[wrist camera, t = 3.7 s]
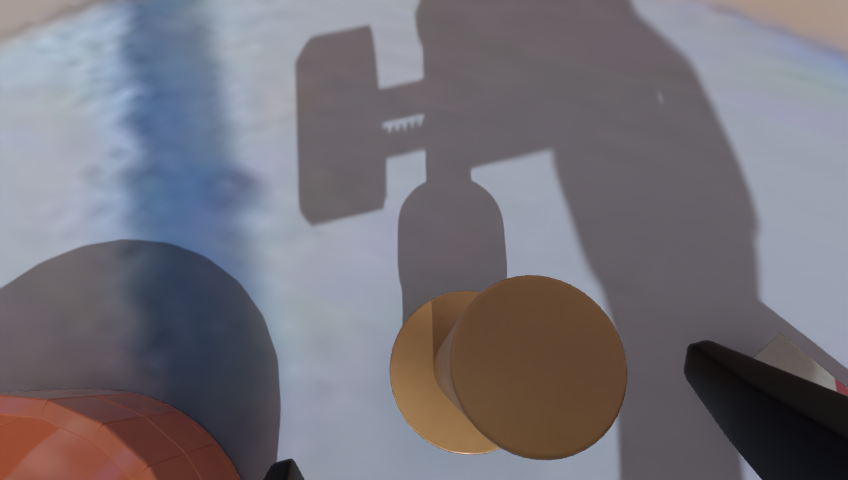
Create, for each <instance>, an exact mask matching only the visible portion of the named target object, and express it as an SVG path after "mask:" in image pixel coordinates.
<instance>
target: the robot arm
mask: <svg viewBox="0 0 848 480" xmlns="http://www.w3.org/2000/svg"><path fill="white" fill-rule="evenodd" d="M684 374H685V377H686V379H687V381H688V382H689V384H690V385H691V387H692V388H693V389H694V391H695V392H696V394H697V395H698V397H699V398H700V399H701V401H702V402H703V404H704V405H705V406H706V408H707V409H708V411H709V412H710V414H711V415H712V416H713V418H714V419H715V421H716V422H717V424H718V425H719V426H720V428H721V429H722V431H723V432H724V434H725V435H726V436H727V438H728V439H729V440H730V442H731V443H732V444H733V445H734V447H735V448H736V449H737V450H738V452H739V453H740V454H741V455H742V456H743V458H744V459H745V460H746V461H747V462H748V464H749V465H750V466H751V467H752V468H753V469H754V471H755V472H756V473H757V474H758V475H759V477H760V478H761V479H762V480H848V396H846V395H844V394H841V393H839V392H836V391H834V390H831V389H829V388H826V387H824V386H821V385H819V384H817V383H814V382H812V381H809V380H807V379H804V378H802V377H799V376H797V375H794V374H792V373H789V372H787V371H784V370H782V369H779V368H777V367H774V366H772V365H769V364H767V363H764V362H762V361H759V360H757V359H754V358H752V357H749V356H747V355H744V354H742V353H740V352H737V351H735V350H732V349H730V348H727V347H725V346H722V345H720V344H717V343H715V342H712V341H708V340H704V341H700V342H696V343H693V344H690V345H689V346H688V348H687V353H686V359H685V365H684ZM263 480H304V478H303V476H302V474H301V472H300V470H299V468H298V467H297V465H296V463H295V461H294V460H293V459H287V460H283V461H280V462H276V463H274V464H273V465H272V466H271V467H270V469H269V470H268V472H267V474H266V476H265V477H264V479H263Z"/></svg>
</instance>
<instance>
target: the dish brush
mask: <svg viewBox="0 0 848 480" xmlns="http://www.w3.org/2000/svg"><path fill="white" fill-rule="evenodd" d="M390 380H391V386H392V391H393V395H394V398H395V401H396V403H397V405H398V408H399V410H400V412H401V414H402V415H403V417H404V418H405V420H406V421H407V423H408V424H409V425H410V426H411V427H412V428H413V430H414V431H415V432H417V433H418V434H419V435H420V436H421V437H422V438H423V439H425V440H426V441H428V442H429V443H431V444H433V445H435V446H437V447H439V448H441V449H443V450H446V451H449V452H452V453H458V454H469V455H475V454H483V453H488V452H491V451H495V450H497V449H500V448H501V449H504V450H506V451H508V452H510V453H512V454H515V455H518V456H521V457H524V458H529V459H535V460H555V459H562V458H566V457H569V456H573V455H575V454H578V453H580V452H582V451H584V450H586V449H587V448H589V447H590V446H592V445H593V444H595V443H596V442H597V441H598V440H599V439H600V438H602V437H603V436H604V434H605V433H606V432H607V431H608V430H609V428H610V427H611V426H612V424H613V423H614V421H615V419H616V418H617V416H618V413H619V411H620V409H621V406H622V404H623V400H624V396H625V392H626V384H627V366H626V358H625V354H624V350H623V346H622V343H621V341H620V338H619V335H618V333H617V331H616V329H615V327H614V326H613V324H612V322H611V321H610V319H609V318H608V316H607V315H606V314H605V312H604V311H603V310H602V309H601V308H600V307H599V305H597V304H596V303H595V302H594V301H593V300H592V299H591V298H590V297H589V296H587V295H586V294H585V293H583V292H582V291H580V290H579V289H577V288H575V287H573V286H572V285H570V284H567V283H565V282H563V281H560V280H557V279H553V278H550V277H544V276H535V275H525V276H516V277H512V278H508V279H505V280H502V281H499V282H497V283H495V284H493V285H491V286H489V287H488V288H486V289H485V290H483V291H482V292H474V291H457V292H451V293H446V294H443V295H440V296H438V297H435V298H433V299H431V300H429V301H427V302H426V303H424V304H423V305H422V306H420V307H419V308H418V309H417V310H416V311H414V312H413V313H412V314H411V315H410V317H409V318H408V319H407V320H406V322H405V323H404V325H403V326H402V328H401V329H400V331H399V333H398V335H397V338H396V340H395V343H394V346H393V349H392V354H391V360H390Z"/></svg>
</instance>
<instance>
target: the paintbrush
mask: <svg viewBox="0 0 848 480" xmlns="http://www.w3.org/2000/svg"><path fill="white" fill-rule="evenodd" d="M754 359H757V360H759V361H762V362H764V363H767V364H769V365H772V366H774V367H777V368H779V369H782V370H784V371H787V372H789V373H792V374H794V375H797V376H799V377H802V378H804V379H807V380H809V381H812V382H814V383H817V384H819V385H821V386H824V387H826V388H829V389H831V390H834V391H836V392H839V393H841V394H844V395H846V396H848V389H847V388H846V387H845V386H844V385H842V384H841V383H840V382H839V381H838V380H836V379H835V378H834V377H833V376H832V375H830V374H829V373H828V372H827V371H826V370H824V369H823V368H822V367H821V366H820V365H818V364H817V363H816V362H815V361H814V360H812V359H811V358H810V357H809V356H808V355H806V354H805V353H804V352H803V351H802V350H800V349H799V348H798V347H797V346H796V345H794V344H793V343H792V342H791V341H790V340H788V339H787V338H786V337H785V336H784V335H782V334H781V333H779V334H778V335H777V336H776V337H775V338H774V339H773V340H772V341H771V342H770V343H769V344H768V345H767V346H766V347H765V348H763V349H762V350H761V351H760V352H759V353H758V354H757V355H756V356H755V357H754Z"/></svg>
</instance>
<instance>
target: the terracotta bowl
mask: <svg viewBox="0 0 848 480" xmlns="http://www.w3.org/2000/svg"><path fill="white" fill-rule="evenodd" d="M0 480H241V478H240V476H239V474H238V472H237V470H236V469H235V467H234V465H233V463H232V461H231V460H230V459H229V457H228V456H227V455H226V453H225V452H224V450H223V449H222V448H221V446H220V445H219V444H218V442H217V441H216V440H215V439H214V438H213V437H212V436H211V435H210V434H209V433H208V432H207V431H206V430H205V429H204V428H203V427H202V426H201V425H200V424H198V423H197V422H195V421H194V420H193V419H191V418H190V417H189V416H187V415H186V414H185V413H183V412H182V411H180V410H178V409H176V408H174V407H172V406H170V405H168V404H166V403H164V402H163V401H160V400H157V399H154V398H151V397H148V396H145V395H142V394H137V393H132V392H126V391H120V390H98V389H87V388H84V389H62V390H42V391H19V392H0Z"/></svg>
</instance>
